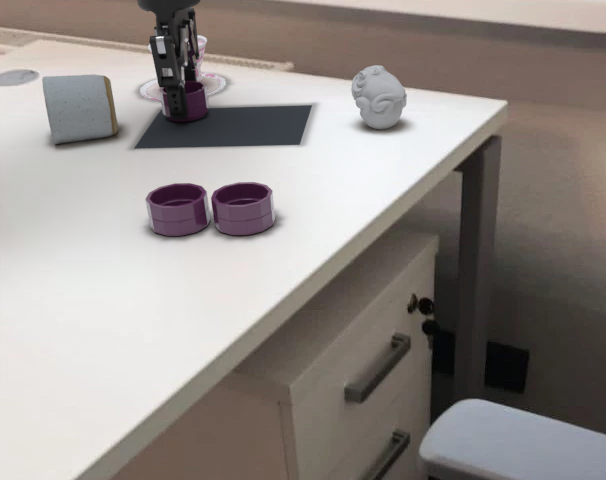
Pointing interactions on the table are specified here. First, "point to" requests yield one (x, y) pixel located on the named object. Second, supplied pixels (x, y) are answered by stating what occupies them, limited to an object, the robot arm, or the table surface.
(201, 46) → the teacup
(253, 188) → the dish right
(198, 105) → the dish left
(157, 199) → the dish middle
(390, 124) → the frog figurine
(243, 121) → the mat
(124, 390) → the table surface
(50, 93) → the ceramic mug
